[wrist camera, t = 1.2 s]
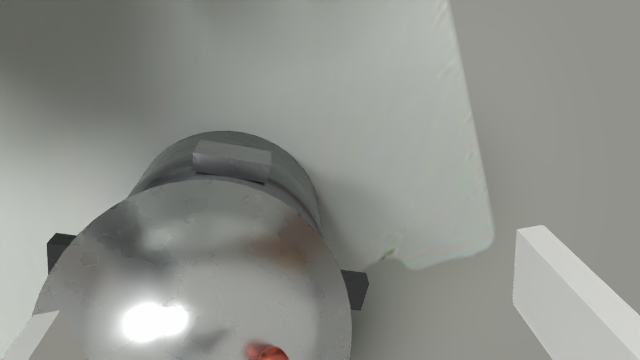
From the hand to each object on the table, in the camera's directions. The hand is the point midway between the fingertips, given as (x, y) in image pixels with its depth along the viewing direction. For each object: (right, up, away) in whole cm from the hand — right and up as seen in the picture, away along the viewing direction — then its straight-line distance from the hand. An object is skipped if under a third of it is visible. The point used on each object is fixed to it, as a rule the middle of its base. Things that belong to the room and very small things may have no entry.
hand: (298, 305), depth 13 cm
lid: (-8, -10, +16) cm, 21 cm away
